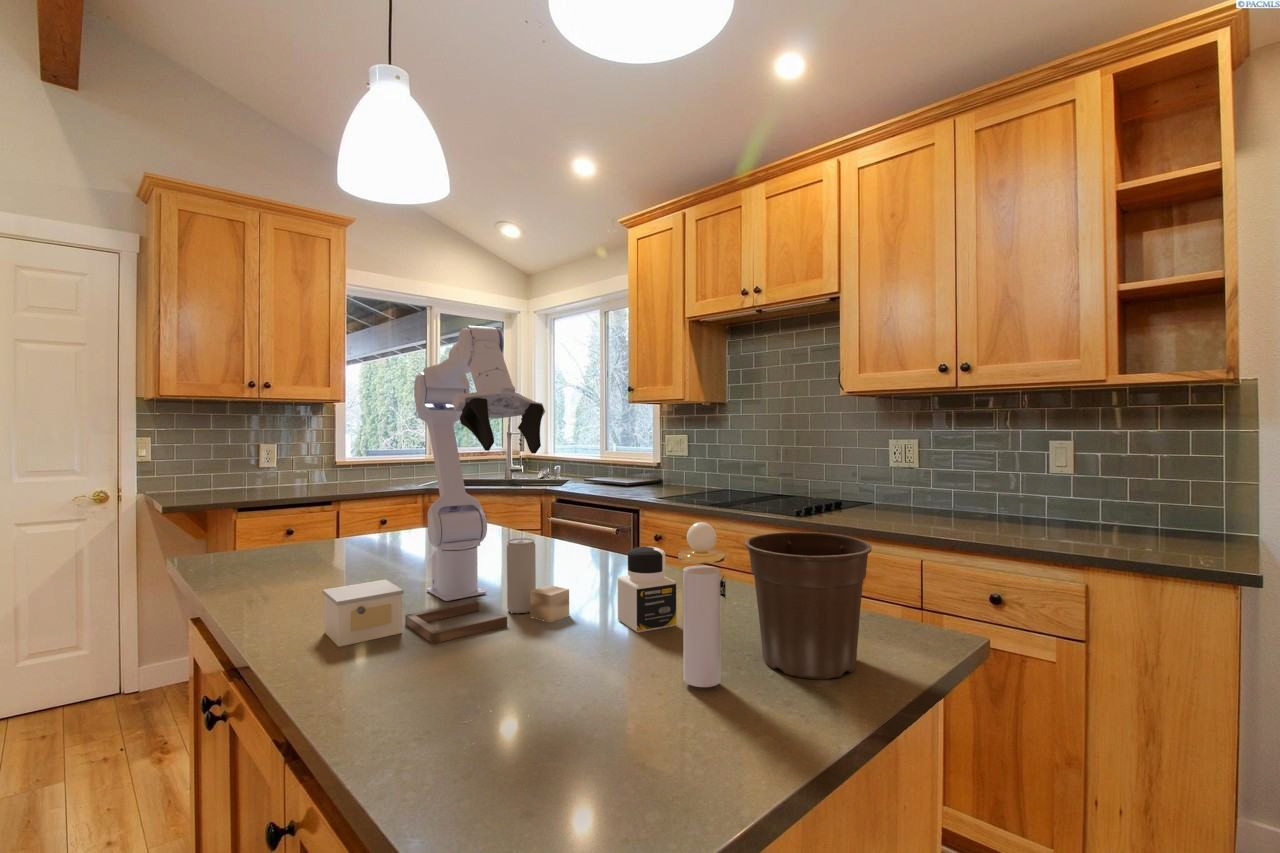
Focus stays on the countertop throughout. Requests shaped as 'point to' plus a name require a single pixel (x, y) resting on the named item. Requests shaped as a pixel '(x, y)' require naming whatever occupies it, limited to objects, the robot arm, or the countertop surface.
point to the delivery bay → (434, 636)
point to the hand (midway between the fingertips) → (513, 447)
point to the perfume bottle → (702, 608)
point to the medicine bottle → (646, 592)
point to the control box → (362, 612)
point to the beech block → (549, 603)
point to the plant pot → (809, 600)
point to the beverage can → (520, 574)
